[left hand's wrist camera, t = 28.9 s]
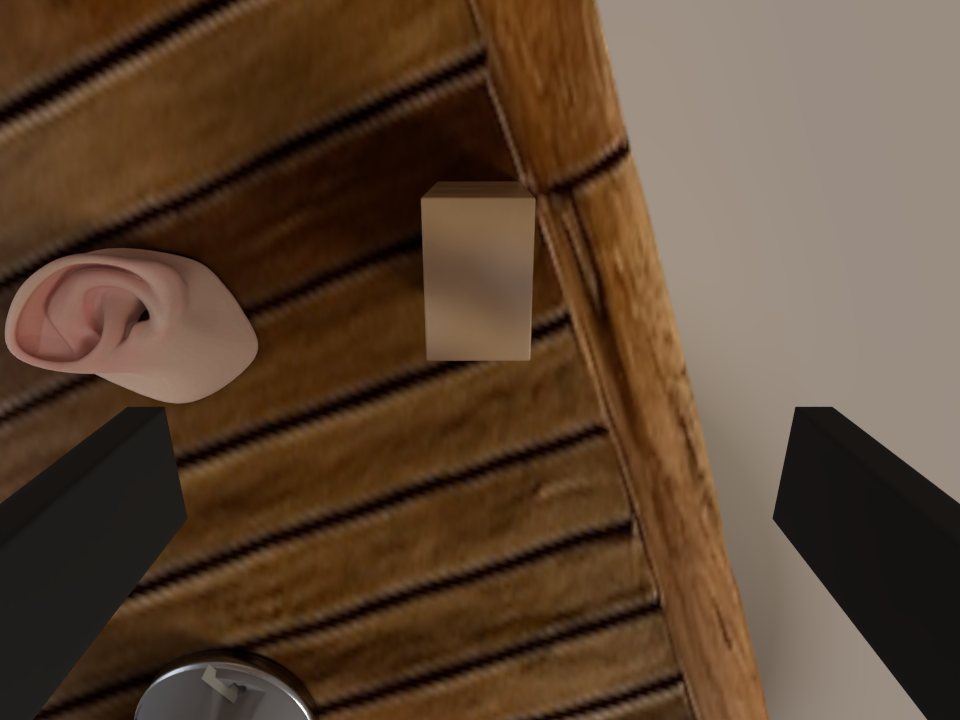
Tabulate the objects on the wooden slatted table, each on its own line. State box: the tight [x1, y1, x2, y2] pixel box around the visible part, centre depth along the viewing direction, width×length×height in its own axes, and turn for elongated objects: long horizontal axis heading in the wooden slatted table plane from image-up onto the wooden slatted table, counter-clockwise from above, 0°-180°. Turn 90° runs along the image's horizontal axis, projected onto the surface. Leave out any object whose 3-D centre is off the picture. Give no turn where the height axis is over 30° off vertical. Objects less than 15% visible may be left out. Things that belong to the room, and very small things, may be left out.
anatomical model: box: [5, 248, 258, 403], centre depth 38 cm, size 13×4×12 cm
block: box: [421, 181, 535, 361], centre depth 33 cm, size 8×5×11 cm, turn 0°
